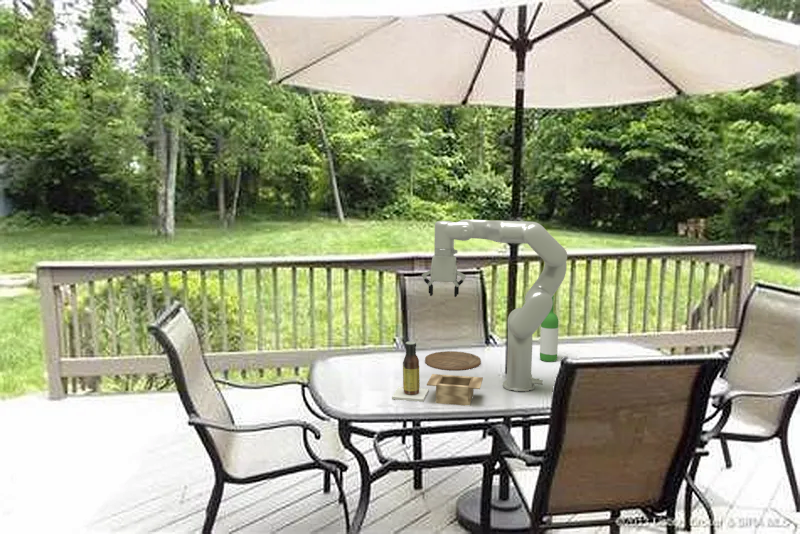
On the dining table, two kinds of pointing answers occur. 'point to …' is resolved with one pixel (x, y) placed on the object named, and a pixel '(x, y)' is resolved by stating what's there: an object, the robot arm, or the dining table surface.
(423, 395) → the mat
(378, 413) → the dining table surface
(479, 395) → the dining table surface
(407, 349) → the sauce bottle
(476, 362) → the trivet
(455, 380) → the carton
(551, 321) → the wine bottle
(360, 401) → the dining table surface
